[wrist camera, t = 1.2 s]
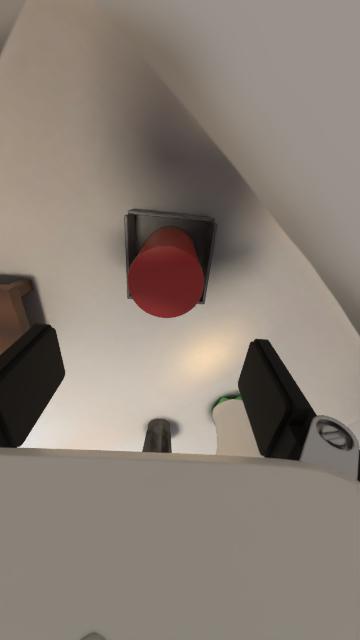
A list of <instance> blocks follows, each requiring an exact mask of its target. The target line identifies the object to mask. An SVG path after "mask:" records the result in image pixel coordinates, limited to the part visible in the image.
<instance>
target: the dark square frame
mask: <svg viewBox="0 0 360 640" xmlns="http://www.w3.org/2000/svg"><path fill="white" fill-rule="evenodd" d="M135 215H146V216H156V217H167V218H177V219H187V220H198V221H208V229H207V236H206V243H205V250H204V257H203V264H202V272H203V276H204V289H203V293H202V296H201V298H200V300H199V301H198V303H197V304H205V298H206V292H207V285H208V279H209V273H210V267H211V261H212V254H213V248H214V242H215V236H216V230H217V224H216V223H215V219H214V218H212V217H207V216H197V215H186V214H176V213H166V212H155V211H145V210H135V209H132V210H129V211H128V214H127V215H125V216H124V221H125V247H126V273H127V298H128V299H133V298H132V296H131V294H130V292H129V288H128V273H129V269H130V267H131V265H132V263H133V261H134V260H135V258H136V246H135Z"/></svg>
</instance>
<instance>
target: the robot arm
mask: <svg viewBox="0 0 360 640" xmlns="http://www.w3.org/2000/svg"><path fill="white" fill-rule="evenodd" d="M64 376H65V369H64V365H63V360H62V356H61V352H60V347H59V343H58V338H57V334H56V330H55V329H54V328H52V327H51V325H47V324H35V325H33V326H32V327H31V328H30V329H29V330H28V331H27V332H26V333H24V334H23V335H22V336H21V337H20V338H19V339H18V340H17V341H15V342H14V343H13V344H12V345H11V346H10V347H9V348H8V349H6V350H5V351H4V352H3V353H2V354H1V355H0V640H360V450H359V443H358V441H357V439H356V437H355V435H354V434H353V433H352V432H351V430H350V429H349V428H347V427H346V426H345V425H344V424H342V423H341V422H339V421H338V420H336V419H334V418H331V417H328V416H324V415H321V416H317V415H316V414H315V412H314V410H313V409H312V407H311V406H310V404H309V402H308V401H307V399H306V398H305V396H304V395H303V393H302V392H301V390H300V388H299V387H298V385H297V384H296V382H295V381H294V379H293V378H292V376H291V374H290V373H289V371H288V370H287V368H286V367H285V365H284V364H283V362H282V361H281V359H280V357H279V356H278V354H277V353H276V351H275V350H274V348H273V347H272V345H271V343H270V342H269V341H268V340H265V339H255V340H254V342H251V343H250V345H249V349H248V352H247V355H246V358H245V361H244V365H243V368H242V371H241V374H240V378H239V381H238V388H239V391H240V394H241V397H242V401H243V404H244V407H245V410H246V413H247V416H248V419H249V422H250V425H251V428H252V431H253V434H254V438H255V441H256V444H257V447H258V450H259V453H260V454H261V455H262V456H264V458H262V457H245V456H226V455H203V454H180V453H154V452H128V451H101V450H71V449H40V448H17V447H19V446H21V445H22V444H23V443H24V441H25V440H26V438H27V436H28V435H29V433H30V432H31V430H32V428H33V427H34V425H35V424H36V422H37V420H38V419H39V417H40V416H41V414H42V412H43V411H44V409H45V408H46V406H47V404H48V403H49V401H50V400H51V398H52V396H53V395H54V393H55V392H56V390H57V388H58V387H59V385H60V384H61V382H62V380H63V379H64Z"/></svg>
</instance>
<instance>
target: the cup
mask: <svg viewBox="0 0 360 640" xmlns="http://www.w3.org/2000/svg"><path fill="white" fill-rule="evenodd" d="M212 415H213V421H214V425H215V426H216V433H217V452H216V455H226V456H245V457H262V458H264V456H262V455H261V454H260V453H259V450H258V447H257V444H256V441H255V438H254V434H253V431H252V428H251V425H250V422H249V419H248V416H247V413H246V410H245V407H244V404H243V401H242V397H241V396H238V397H236V398H235V399H227V398H224V397H223V398H221V399H220V401H219V403H218V404H217V405H216V407H214V408H213V409H212Z"/></svg>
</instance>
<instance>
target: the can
mask: <svg viewBox="0 0 360 640" xmlns="http://www.w3.org/2000/svg"><path fill="white" fill-rule="evenodd" d="M128 288H129V292H130V294H131V296H132V298H133V300H134V301H135V303H136V304H137V305H138V306H139V307H140V308H141V309H142V310H144V311H145V312H147V313H149V314H151V315H154V316H157V317H162V318H172V317H177V316H180V315H183V314H185V313H187V312H188V311H190V310H191V309H192V308H193V307H194V306H195V305H196V304H197V303H198V301H199V300H200V298H201V296H202V293H203V289H204V276H203V272H202V269H201V266H200V263H199V260H198V257H197V253H196V250H195V247H194V244H193V242H192V240H191V238H190V237H189V235H188V234H187V233H186V232H184V231H183V230H181V229H179V228H176V227H162V228H160V229H158V230H156V231H155V232H153V233H152V234H151V235H150V237H149V238H148V240H147V241H146V243H145V244H144V246H143V247H142V249H141V250H140V252H139V254H138V255H137V257H136V258H135V260H134V261H133V263H132V265H131V267H130V269H129V273H128Z"/></svg>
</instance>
